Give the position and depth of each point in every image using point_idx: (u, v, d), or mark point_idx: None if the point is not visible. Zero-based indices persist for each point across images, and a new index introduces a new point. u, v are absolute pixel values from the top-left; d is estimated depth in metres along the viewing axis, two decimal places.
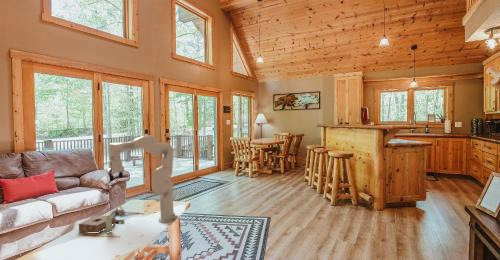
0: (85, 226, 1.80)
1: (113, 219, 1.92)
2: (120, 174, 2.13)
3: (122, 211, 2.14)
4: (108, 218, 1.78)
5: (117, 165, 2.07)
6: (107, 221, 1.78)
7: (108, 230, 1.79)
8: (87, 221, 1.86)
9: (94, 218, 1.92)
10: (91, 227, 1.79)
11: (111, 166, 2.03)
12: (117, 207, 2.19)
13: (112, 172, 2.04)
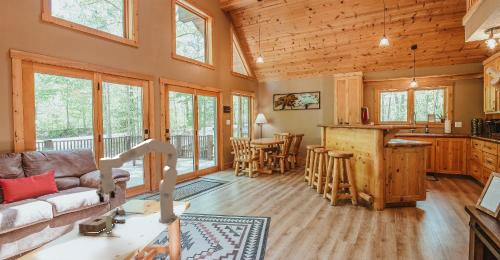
0: (85, 226, 1.80)
1: (113, 219, 1.92)
2: (112, 194, 1.84)
3: (123, 211, 2.14)
4: (108, 218, 1.78)
5: (108, 184, 1.78)
6: (107, 221, 1.78)
7: (108, 230, 1.79)
8: (87, 221, 1.86)
9: (94, 218, 1.92)
10: (91, 227, 1.79)
11: (101, 185, 1.75)
12: (117, 207, 2.19)
13: (102, 192, 1.75)
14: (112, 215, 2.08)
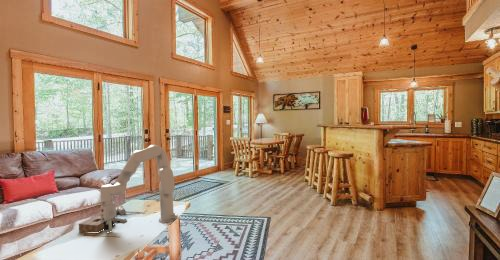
0: (85, 226, 1.80)
1: None
2: None
3: (124, 210, 2.15)
4: None
5: (110, 211, 1.78)
6: None
7: (108, 230, 1.79)
8: (87, 221, 1.86)
9: (94, 218, 1.92)
10: (91, 227, 1.79)
11: (103, 213, 1.75)
12: (118, 207, 2.20)
13: (106, 220, 1.77)
14: None
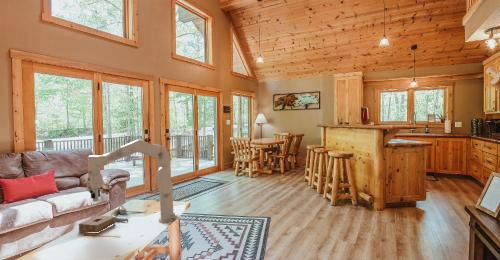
0: (85, 226, 1.80)
1: (113, 219, 1.92)
2: None
3: (124, 210, 2.15)
4: None
5: (96, 180, 1.85)
6: (94, 190, 1.85)
7: (94, 199, 1.85)
8: (87, 221, 1.86)
9: (94, 218, 1.92)
10: (91, 227, 1.79)
11: (89, 182, 1.81)
12: (119, 206, 2.20)
13: (92, 189, 1.83)
14: (114, 214, 2.09)
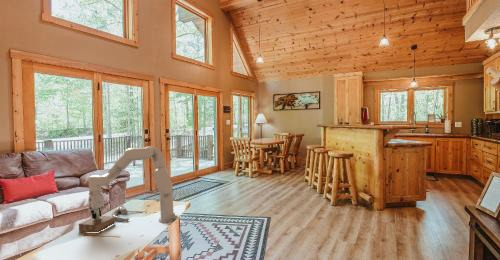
0: (85, 226, 1.80)
1: (113, 219, 1.92)
2: None
3: (125, 210, 2.16)
4: None
5: (97, 200, 1.85)
6: None
7: (96, 219, 1.86)
8: (87, 221, 1.86)
9: None
10: (91, 227, 1.79)
11: (90, 202, 1.82)
12: (119, 206, 2.21)
13: None
14: None
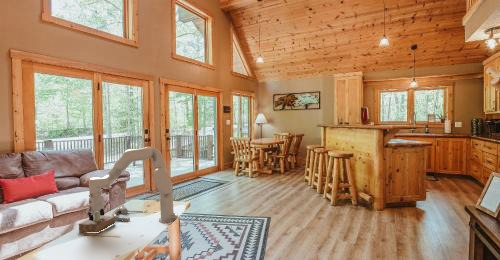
0: (85, 226, 1.80)
1: (113, 219, 1.92)
2: (101, 211, 1.91)
3: (126, 209, 2.17)
4: (97, 215, 1.86)
5: (98, 202, 1.85)
6: (96, 217, 1.86)
7: None
8: (87, 221, 1.86)
9: (94, 218, 1.92)
10: (91, 227, 1.79)
11: (90, 204, 1.82)
12: (120, 206, 2.21)
13: (92, 211, 1.82)
14: (115, 214, 2.10)
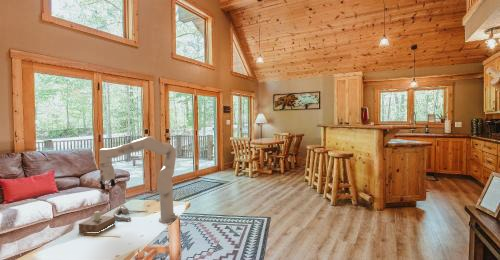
0: (85, 226, 1.80)
1: (113, 219, 1.92)
2: (112, 182, 1.97)
3: (126, 209, 2.17)
4: (97, 215, 1.86)
5: (109, 172, 1.90)
6: (96, 218, 1.86)
7: None
8: (87, 221, 1.86)
9: None
10: (91, 227, 1.79)
11: (102, 174, 1.87)
12: (120, 206, 2.22)
13: (103, 180, 1.87)
14: (116, 214, 2.10)
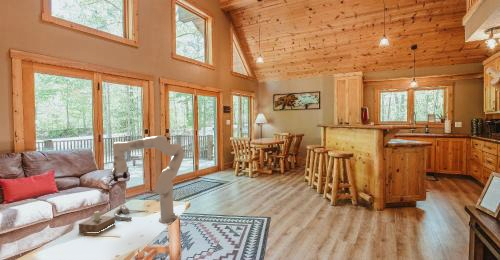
0: (85, 226, 1.80)
1: (113, 219, 1.92)
2: (124, 175, 2.03)
3: (127, 209, 2.18)
4: (96, 215, 1.86)
5: (121, 165, 1.97)
6: (95, 218, 1.86)
7: None
8: (87, 221, 1.86)
9: None
10: (91, 227, 1.79)
11: (115, 166, 1.93)
12: (121, 206, 2.22)
13: (116, 172, 1.94)
14: None
